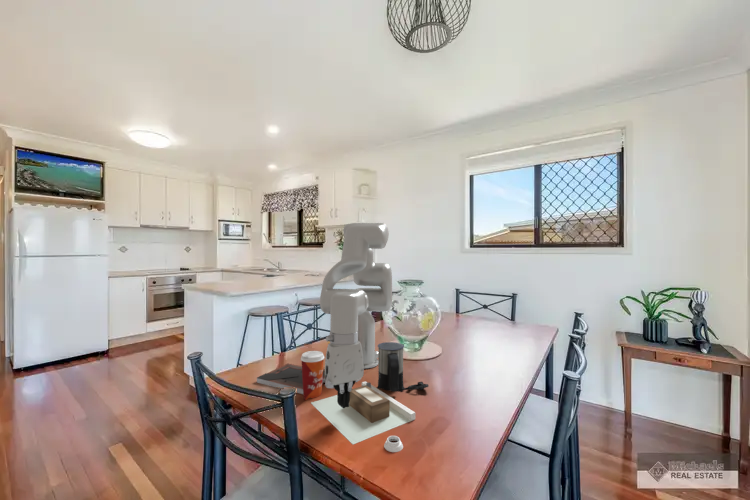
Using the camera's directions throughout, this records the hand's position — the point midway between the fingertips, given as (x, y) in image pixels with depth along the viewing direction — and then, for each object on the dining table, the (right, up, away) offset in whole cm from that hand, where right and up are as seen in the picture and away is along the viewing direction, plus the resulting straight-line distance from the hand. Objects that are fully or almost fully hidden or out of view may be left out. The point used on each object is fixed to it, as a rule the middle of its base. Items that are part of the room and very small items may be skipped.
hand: (343, 405), depth 86 cm
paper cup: (-12, -5, +16) cm, 21 cm away
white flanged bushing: (+13, -6, -11) cm, 18 cm away
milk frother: (+18, -6, +22) cm, 29 cm away
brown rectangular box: (+7, -4, +5) cm, 9 cm away
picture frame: (-21, -6, +30) cm, 37 cm away
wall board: (+4, -5, +5) cm, 9 cm away
